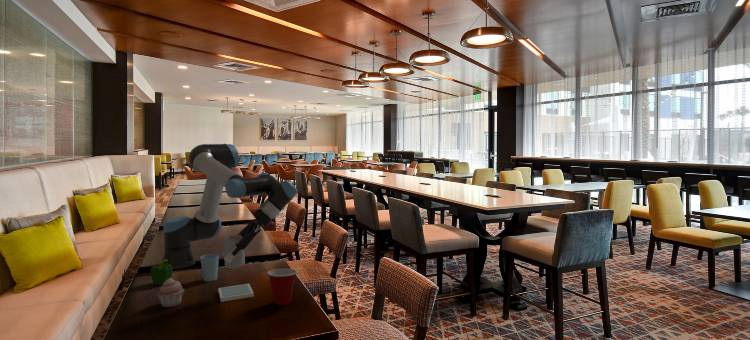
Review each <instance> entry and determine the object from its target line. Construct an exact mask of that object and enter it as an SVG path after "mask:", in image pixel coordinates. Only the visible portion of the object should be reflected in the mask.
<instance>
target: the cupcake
mask: <svg viewBox="0 0 750 340" xmlns="http://www.w3.org/2000/svg"><path fill="white" fill-rule="evenodd" d="M184 293H185V288H183V286H182V284H181V283H180V281H178V280H174V279H173V278H172V277H171V278H169V279H168V280H166V281H165V282H164V283H163V285H160V288H159V291H157V294H156V296H157V297H158V299H159V301H160V304H161V306H162V307H163V308H173V307H176V306H179V305H181V303H182V300H183V299H182V297H183V294H184Z"/></svg>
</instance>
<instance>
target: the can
mask: <svg viewBox="0 0 750 340" xmlns="http://www.w3.org/2000/svg"><path fill="white" fill-rule="evenodd" d="M241 239H242V235H238V234H231V235H227V236H225V239H224V240H223V252H224V255H223V259H224V258H225V257H226V255H227V254H228V253H229V252H230V251H231V250H232V249H233V248H234V247H235V246H236V245H235V244H238V243H239V242H240V241H241ZM245 257H246V255H245V249H244V250H241V251H240V252H239V253H238V254H237V255H236V257H235V258H234V259H233V260H232V261H231V262H230V263H228V262H227V261H225V260H224V266H225V267H226V268H227V269H239V268H242V267H243V266H244V265H245V263H246V258H245Z"/></svg>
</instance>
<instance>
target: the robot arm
mask: <svg viewBox="0 0 750 340" xmlns="http://www.w3.org/2000/svg"><path fill="white" fill-rule="evenodd" d="M188 163H189V165H190V167H191V168H192V169H193V170H195V171H196V172H197V173H202V174H205V175H206V176H207V177H206V181H205V185H204V188H203V193H202V196H201V199H200V205H199V209H197V210H196V211H195V212H194V215H193V217H190V216H187V215H181V216H176V217H171V218H170V219H167V220H165V221H164V223H163V244H164V245H163V246H164V247H163V248H164V251H163V255H162V257H161V258H162V259H161V262H162V261H163V260H168V261H167V262H164V263H163V264H165V263H168V264H171V265H172V267H173V270H178V269H185V268H189V267H191V266H194V265H196V258H195V255H194V253H193V250H192V246H191V242H196V241H200V240H201V241H202V240H207V239H212V238H215V237H218V235H219V233H220V232H221V230H222V220H221V218H220V216H219V214H218V211H219V206H220V202H221V199H222V196H223V191H224V190H225V193H226V195H227V197H228V198H231V199H241V198H246V197H255V196H263V195H266V196H267V198H266V199H265V200H264V201H263V203H262V204H261V205H260V206H259V208H257V209H256V211H254V213H253V214H252V217H254V218H255V219H253V220H250V221H249V222H248V224H246V225H245V227H243V229H241V230H240V232H238V234H237V235H242V239H241V241H240V242H239V243H238V244H235V245H236V246H235V247H234V248H233V249H232V250H231V251H230V252H229V253H228V254H227V255H226V257H225V258H224V257H223V260H224V262H225V261H227V262H228V263H230V262H231V261H232V260H233V259H234V258H235V257H236V255H237V254H238V253H239V252H240V251H241V250H244V251H245V249H246V248H247V247H248V246H249V244H251V242H252V241H253V240H254V238H255V237H256V236H257V235H258V234H259V233H260V232H261V231H262V228H261V227H262V226H265V227H268V226H269V225H270V224H271V223H272V222H273V219H275V218H277V216H280V213H281V212H282V211H283V209H285V207H286V206H288V204H289V203H290V202H291V201H293V198H295V196H296V195H297V194H298V189H297V188H296V187H295V186H294V185H293V184H292V183H291V182H289V181H288V180H283V181H282V182H280V180H278V179H277V178H276V177H274V176H273V175H272V174H270V173H268V172H260V173H259V174H257V175H256V176H254V177H244V176H242V175H241V174H239V173H237V172H236V171H234V170H233V169H235V168H237V167H238V166H239V164H240V153H239V150H238V149H237V147H236V146H235V145H234V144H231V143H211V144H210V143H208V144H207V143H203V144H198V145H197V146H195V147H193V148H192V149H191V150H190V152H189V154H188ZM221 255H222V256H224V251H223V252H222V253H221ZM161 262H160V263H161Z"/></svg>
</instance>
